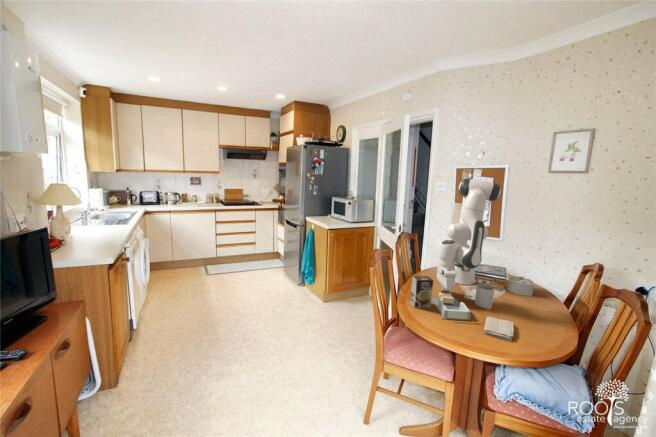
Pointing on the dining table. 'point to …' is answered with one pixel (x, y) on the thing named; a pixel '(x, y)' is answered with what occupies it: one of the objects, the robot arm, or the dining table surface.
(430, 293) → the coffee box
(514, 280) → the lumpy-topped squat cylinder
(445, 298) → the beige box with tab
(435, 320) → the dining table surface
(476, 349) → the dining table surface
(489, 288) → the mug
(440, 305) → the dock
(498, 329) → the washcloth
